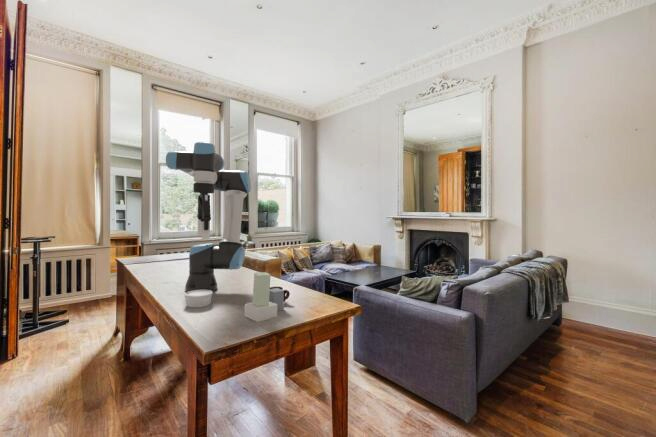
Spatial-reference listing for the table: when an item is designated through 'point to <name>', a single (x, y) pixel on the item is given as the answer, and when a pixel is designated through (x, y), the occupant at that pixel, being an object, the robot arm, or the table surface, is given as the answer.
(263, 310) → the base block
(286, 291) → the pottery mug
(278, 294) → the slate block
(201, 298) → the ramekin
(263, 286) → the sage block
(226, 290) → the table surface
